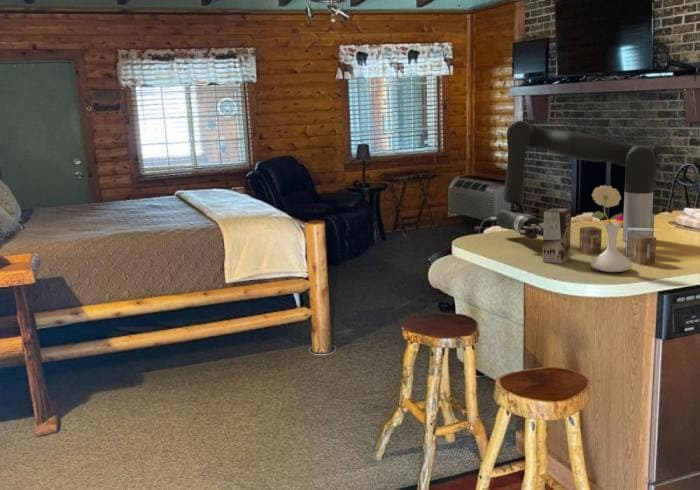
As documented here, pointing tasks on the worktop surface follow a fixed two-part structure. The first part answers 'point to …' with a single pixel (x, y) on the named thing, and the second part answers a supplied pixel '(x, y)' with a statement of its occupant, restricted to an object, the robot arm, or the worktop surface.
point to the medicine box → (634, 232)
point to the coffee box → (556, 235)
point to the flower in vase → (609, 233)
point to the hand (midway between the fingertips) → (548, 234)
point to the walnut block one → (643, 249)
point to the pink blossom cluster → (616, 220)
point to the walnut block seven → (590, 240)
